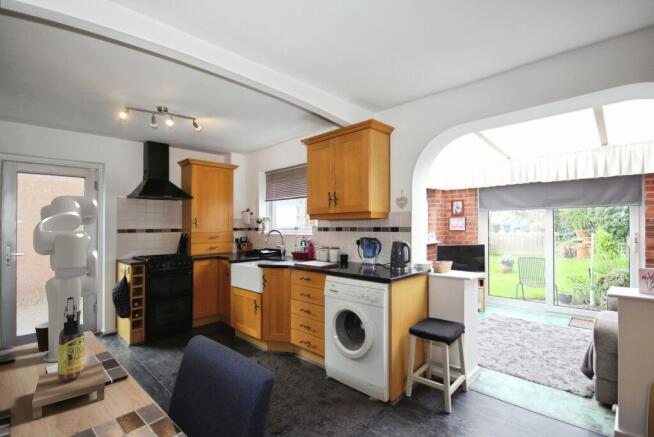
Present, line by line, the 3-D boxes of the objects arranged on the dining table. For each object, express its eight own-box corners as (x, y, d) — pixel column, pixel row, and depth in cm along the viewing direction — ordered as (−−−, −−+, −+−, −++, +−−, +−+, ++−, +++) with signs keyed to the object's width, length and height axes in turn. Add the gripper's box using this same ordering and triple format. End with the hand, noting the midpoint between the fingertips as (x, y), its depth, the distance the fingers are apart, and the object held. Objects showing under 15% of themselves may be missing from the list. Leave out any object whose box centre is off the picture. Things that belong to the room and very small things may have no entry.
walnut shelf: (39, 391, 100) (39, 375, 100) (101, 375, 109) (101, 361, 109) (32, 420, 85) (32, 401, 85) (104, 399, 95) (104, 382, 95)
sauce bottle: (68, 382, 93) (68, 315, 93) (51, 380, 95) (51, 313, 95) (89, 371, 100) (89, 308, 100) (73, 369, 101) (73, 307, 101)
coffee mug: (39, 354, 126) (39, 329, 126) (31, 349, 131) (31, 325, 131) (74, 344, 136) (74, 321, 136) (66, 340, 141) (66, 317, 141)
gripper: (56, 270, 102) (56, 326, 102) (52, 278, 88) (52, 343, 88) (86, 267, 106) (86, 321, 106) (86, 275, 93) (86, 337, 93)
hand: (71, 331), depth 97 cm, fingers closed on sauce bottle, 5 cm apart
